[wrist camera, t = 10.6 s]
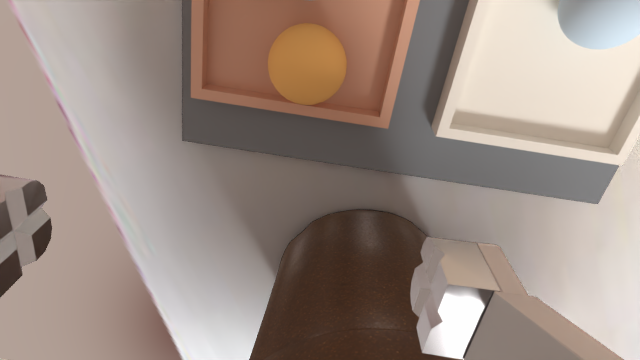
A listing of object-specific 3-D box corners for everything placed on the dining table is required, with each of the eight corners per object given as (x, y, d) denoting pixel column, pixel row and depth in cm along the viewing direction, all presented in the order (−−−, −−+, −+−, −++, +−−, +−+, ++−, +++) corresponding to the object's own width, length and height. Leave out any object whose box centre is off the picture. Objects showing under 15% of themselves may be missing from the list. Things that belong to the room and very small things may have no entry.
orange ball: (328, 90, 25) (348, 119, 22) (259, 85, 24) (270, 116, 21) (340, 19, 23) (365, 39, 20) (266, 10, 22) (279, 31, 18)
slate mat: (592, 199, 28) (597, 204, 28) (185, 136, 27) (182, 140, 27) (771, -129, 20) (783, -131, 19) (186, -243, 18) (181, -249, 18)
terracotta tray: (385, 119, 26) (388, 128, 24) (197, 90, 25) (190, 97, 24) (439, -102, 20) (446, -105, 19) (201, -145, 20) (192, -152, 18)
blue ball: (603, 46, 23) (652, 64, 19) (531, 33, 23) (567, 50, 19) (642, -37, 21) (704, -34, 17) (563, -51, 21) (610, -51, 17)
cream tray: (609, 155, 26) (622, 165, 25) (431, 127, 26) (435, 136, 24) (719, -50, 21) (743, -49, 20) (496, -91, 20) (507, -93, 19)
